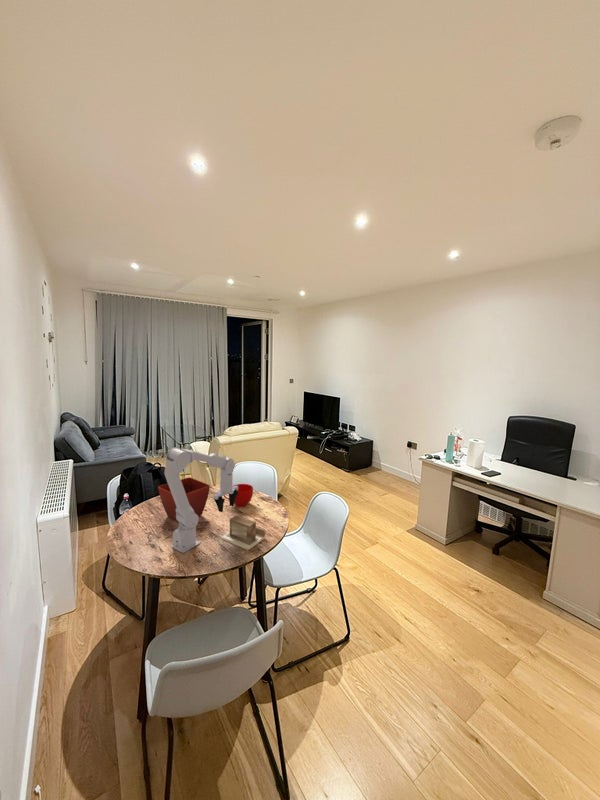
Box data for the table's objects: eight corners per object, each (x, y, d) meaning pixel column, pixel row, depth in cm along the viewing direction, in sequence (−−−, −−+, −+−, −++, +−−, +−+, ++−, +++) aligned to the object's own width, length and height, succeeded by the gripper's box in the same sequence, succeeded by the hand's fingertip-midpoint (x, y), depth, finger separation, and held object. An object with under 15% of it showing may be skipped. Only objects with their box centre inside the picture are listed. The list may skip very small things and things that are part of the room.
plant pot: (178, 529, 157) (178, 496, 155) (157, 517, 168) (157, 486, 166) (210, 515, 172) (210, 485, 170) (189, 505, 183) (189, 476, 181)
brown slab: (249, 543, 144) (249, 526, 143) (229, 535, 150) (229, 518, 149) (255, 538, 148) (255, 522, 147) (236, 531, 154) (236, 515, 153)
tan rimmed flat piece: (248, 550, 141) (248, 541, 140) (221, 539, 149) (221, 530, 149) (265, 538, 151) (265, 529, 151) (239, 528, 159) (239, 520, 159)
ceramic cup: (222, 501, 190) (222, 485, 189) (251, 499, 195) (251, 483, 194) (223, 511, 178) (223, 493, 177) (254, 508, 182) (254, 491, 181)
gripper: (221, 488, 148) (221, 516, 149) (242, 479, 160) (242, 505, 161) (210, 484, 151) (210, 512, 153) (232, 476, 164) (232, 501, 165)
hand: (226, 508), depth 157 cm, fingers open, 7 cm apart
